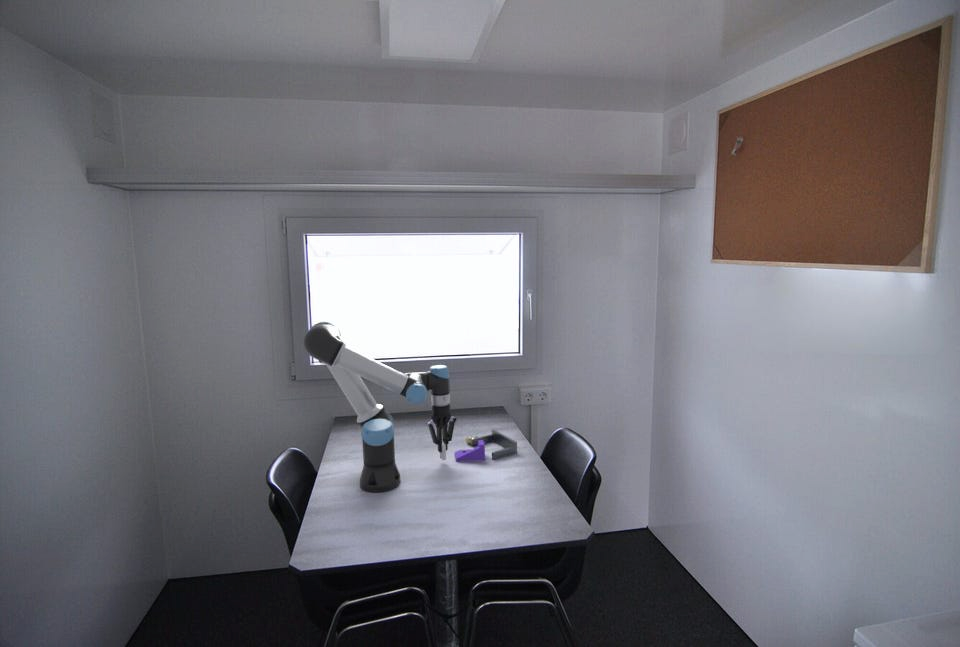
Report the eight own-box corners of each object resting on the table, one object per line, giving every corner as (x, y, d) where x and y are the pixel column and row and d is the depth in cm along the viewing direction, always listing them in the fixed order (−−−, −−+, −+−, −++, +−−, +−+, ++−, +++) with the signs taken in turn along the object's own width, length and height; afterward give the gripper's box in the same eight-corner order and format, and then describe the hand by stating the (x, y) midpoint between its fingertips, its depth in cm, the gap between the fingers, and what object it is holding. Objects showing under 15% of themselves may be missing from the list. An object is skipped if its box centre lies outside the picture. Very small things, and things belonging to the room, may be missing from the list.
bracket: (482, 453, 220) (482, 438, 219) (484, 460, 213) (484, 444, 212) (454, 455, 219) (454, 440, 217) (456, 462, 212) (455, 446, 211)
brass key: (471, 445, 229) (471, 438, 228) (466, 443, 231) (466, 436, 230) (479, 441, 233) (479, 434, 232) (474, 439, 235) (474, 432, 234)
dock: (493, 459, 213) (493, 448, 212) (471, 445, 228) (470, 434, 227) (517, 453, 219) (517, 442, 218) (494, 439, 234) (493, 429, 233)
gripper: (430, 409, 200) (432, 465, 204) (459, 402, 207) (461, 458, 211) (422, 404, 206) (424, 459, 210) (450, 398, 213) (452, 451, 217)
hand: (443, 458), depth 210 cm, fingers closed
